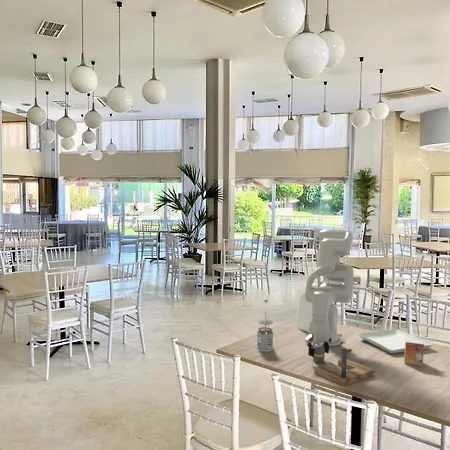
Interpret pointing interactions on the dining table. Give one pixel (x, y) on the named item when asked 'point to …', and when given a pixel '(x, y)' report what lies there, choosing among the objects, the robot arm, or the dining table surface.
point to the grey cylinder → (319, 354)
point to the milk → (305, 312)
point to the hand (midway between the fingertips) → (318, 354)
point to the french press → (265, 340)
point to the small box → (414, 352)
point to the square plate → (391, 340)
